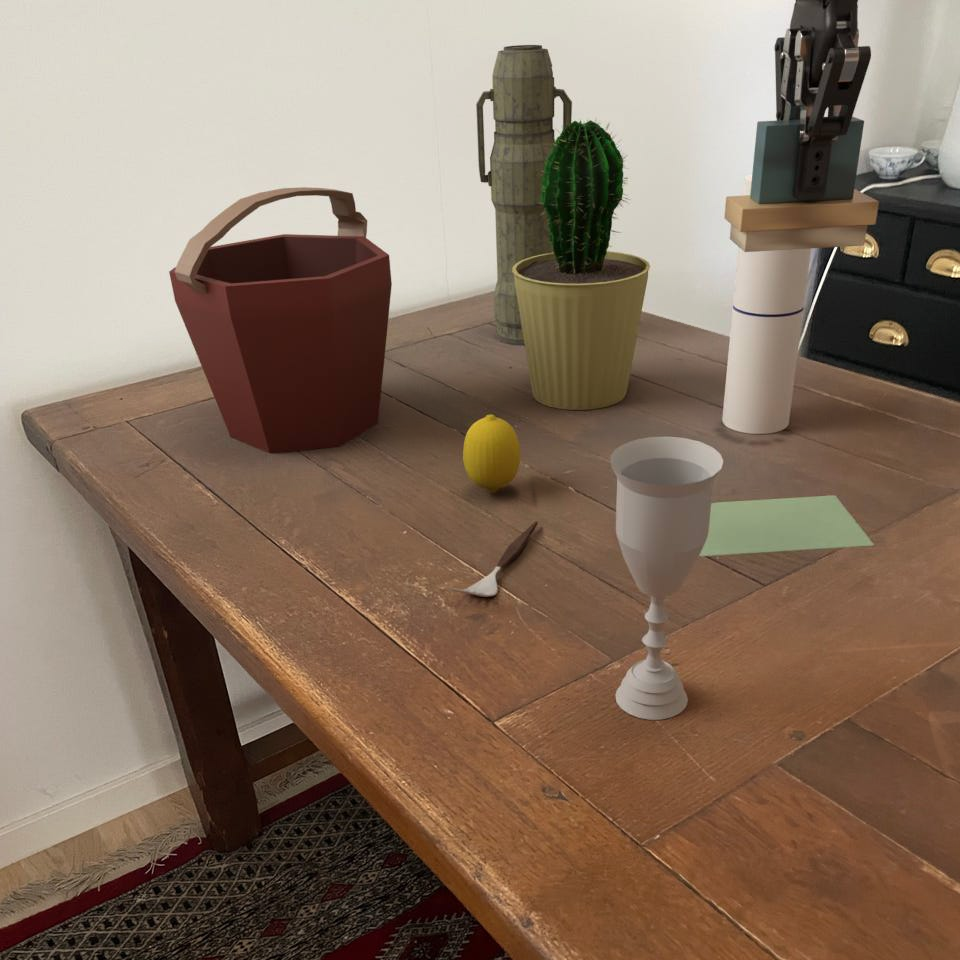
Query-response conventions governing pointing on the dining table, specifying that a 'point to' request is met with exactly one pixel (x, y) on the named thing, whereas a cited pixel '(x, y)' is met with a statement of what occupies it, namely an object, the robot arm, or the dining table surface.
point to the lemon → (491, 453)
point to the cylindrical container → (764, 337)
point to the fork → (499, 567)
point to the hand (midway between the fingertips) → (801, 194)
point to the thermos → (518, 167)
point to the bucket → (289, 325)
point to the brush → (788, 221)
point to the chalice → (660, 549)
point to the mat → (781, 526)
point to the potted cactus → (581, 279)
